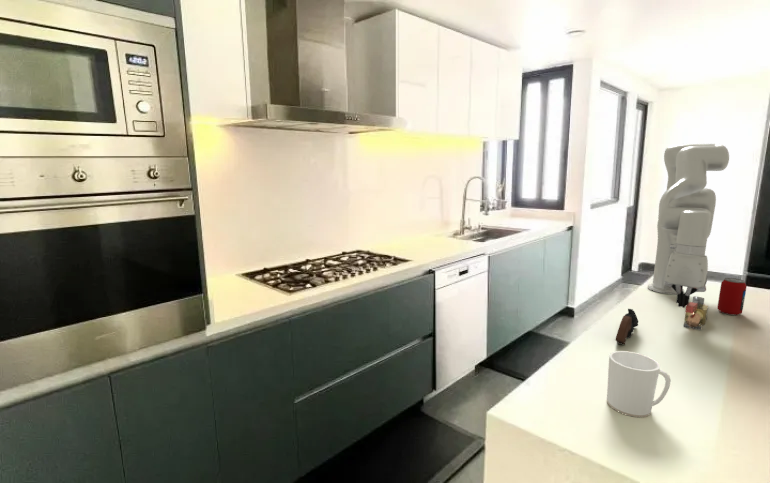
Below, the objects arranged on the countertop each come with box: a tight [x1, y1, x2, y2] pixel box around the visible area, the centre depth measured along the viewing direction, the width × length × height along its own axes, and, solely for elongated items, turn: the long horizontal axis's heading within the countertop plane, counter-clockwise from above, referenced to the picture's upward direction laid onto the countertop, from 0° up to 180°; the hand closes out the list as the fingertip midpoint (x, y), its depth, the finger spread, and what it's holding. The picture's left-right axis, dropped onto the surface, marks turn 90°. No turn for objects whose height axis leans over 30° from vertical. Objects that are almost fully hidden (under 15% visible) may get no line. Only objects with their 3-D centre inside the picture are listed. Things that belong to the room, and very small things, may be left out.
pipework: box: [683, 303, 709, 331], centre depth 134 cm, size 22×5×5 cm, turn 138°
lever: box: [684, 296, 705, 313], centre depth 130 cm, size 13×3×3 cm, turn 132°
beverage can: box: [716, 277, 747, 316], centre depth 141 cm, size 7×7×12 cm
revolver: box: [615, 308, 639, 346], centre depth 121 cm, size 3×18×12 cm
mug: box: [606, 350, 672, 418], centre depth 84 cm, size 11×9×10 cm
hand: (682, 306), depth 130 cm, fingers closed
